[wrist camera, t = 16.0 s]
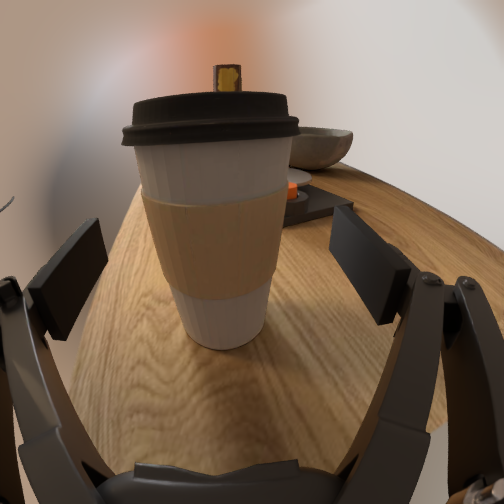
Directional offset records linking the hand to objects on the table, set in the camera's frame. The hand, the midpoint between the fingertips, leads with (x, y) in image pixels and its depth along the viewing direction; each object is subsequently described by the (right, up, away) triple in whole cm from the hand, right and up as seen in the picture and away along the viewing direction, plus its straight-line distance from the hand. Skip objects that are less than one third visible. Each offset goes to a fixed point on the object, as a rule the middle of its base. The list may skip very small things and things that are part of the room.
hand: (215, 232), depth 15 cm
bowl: (+15, +19, +50) cm, 56 cm away
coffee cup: (0, -6, +5) cm, 8 cm away
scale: (+7, +7, +29) cm, 31 cm away
